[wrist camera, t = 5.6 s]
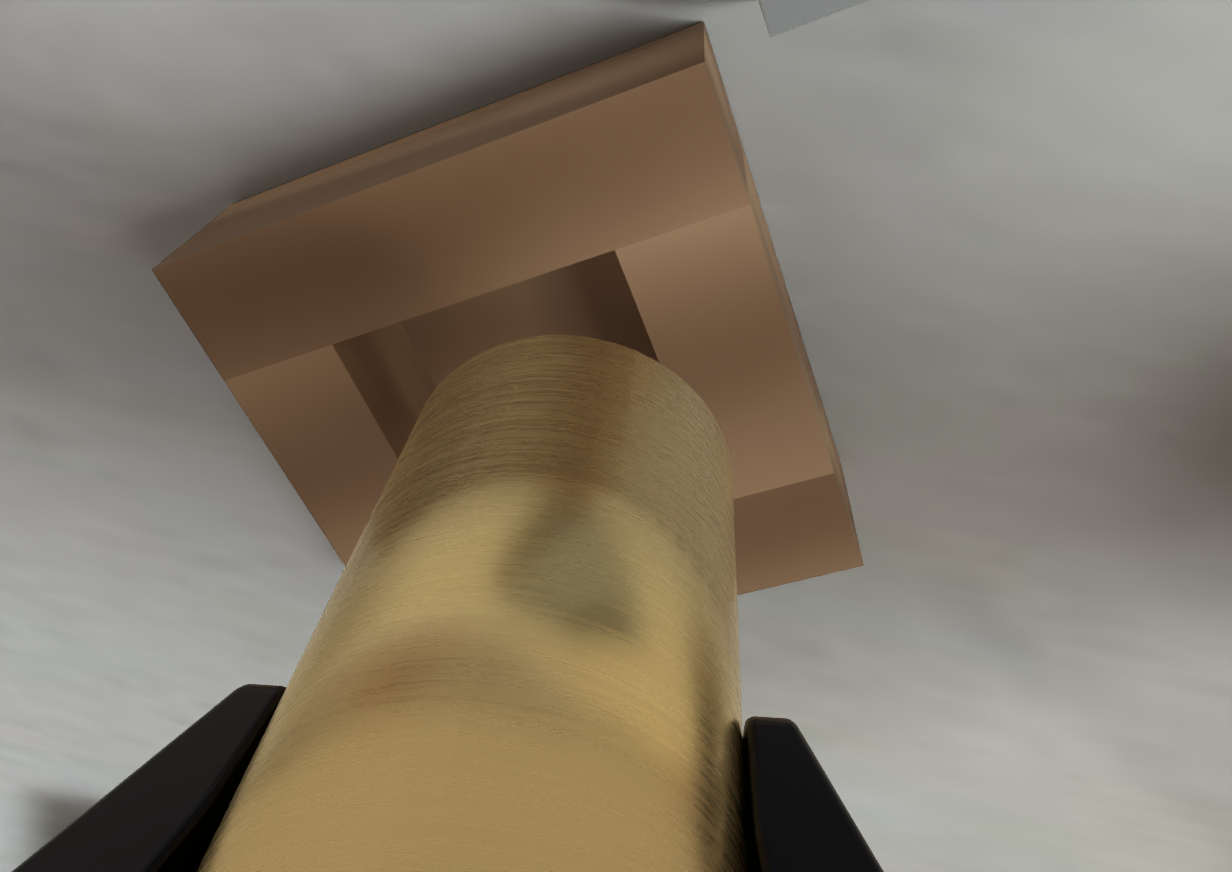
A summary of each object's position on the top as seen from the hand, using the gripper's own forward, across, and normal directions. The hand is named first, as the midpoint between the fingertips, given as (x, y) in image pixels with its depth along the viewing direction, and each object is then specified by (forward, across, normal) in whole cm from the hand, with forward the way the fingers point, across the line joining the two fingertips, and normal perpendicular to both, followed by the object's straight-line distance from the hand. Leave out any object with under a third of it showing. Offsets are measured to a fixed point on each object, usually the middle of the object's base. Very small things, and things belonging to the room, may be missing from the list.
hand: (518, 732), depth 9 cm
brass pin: (+4, 0, 0) cm, 4 cm away
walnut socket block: (+13, +2, +2) cm, 13 cm away
